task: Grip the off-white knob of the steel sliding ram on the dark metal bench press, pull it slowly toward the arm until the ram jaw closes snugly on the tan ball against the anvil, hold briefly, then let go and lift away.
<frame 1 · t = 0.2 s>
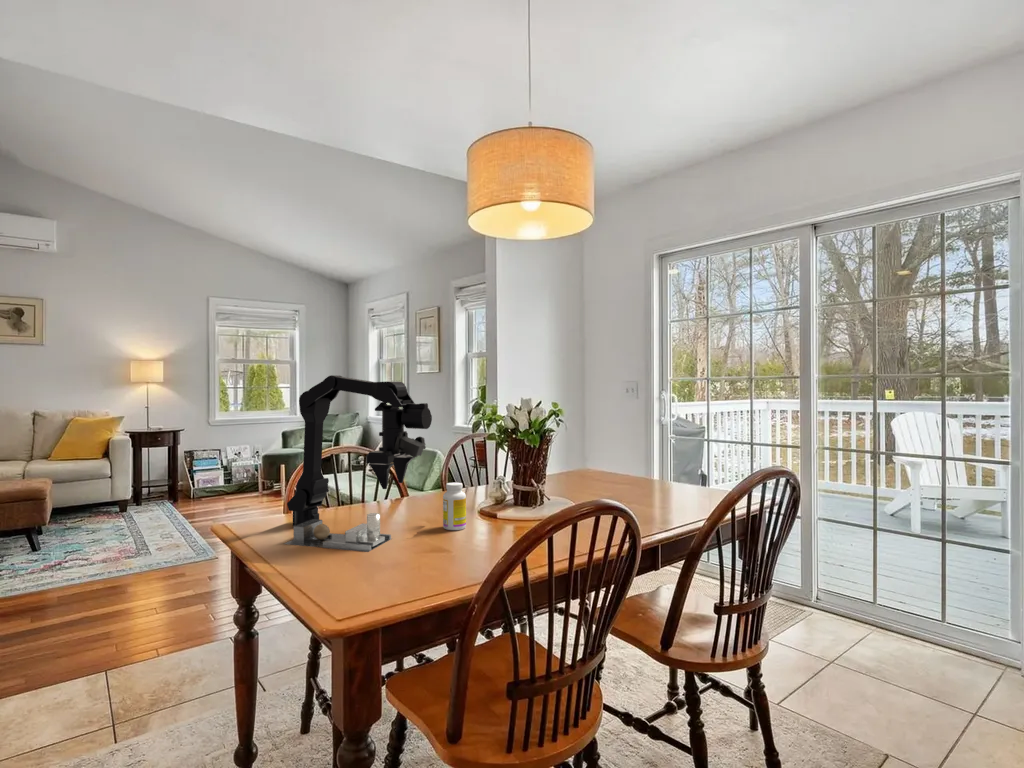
hand: (393, 485, 155), 14 cm above the table, tool pointing down, fingers open, 9 cm apart
supplement bottle: (454, 528, 167), on the table
tan ball: (321, 539, 149), point 1 cm above the table, touching press base
ram: (366, 528, 145), point 5 cm above the table, slide at 0.0 cm
press base: (338, 546, 147), on the table
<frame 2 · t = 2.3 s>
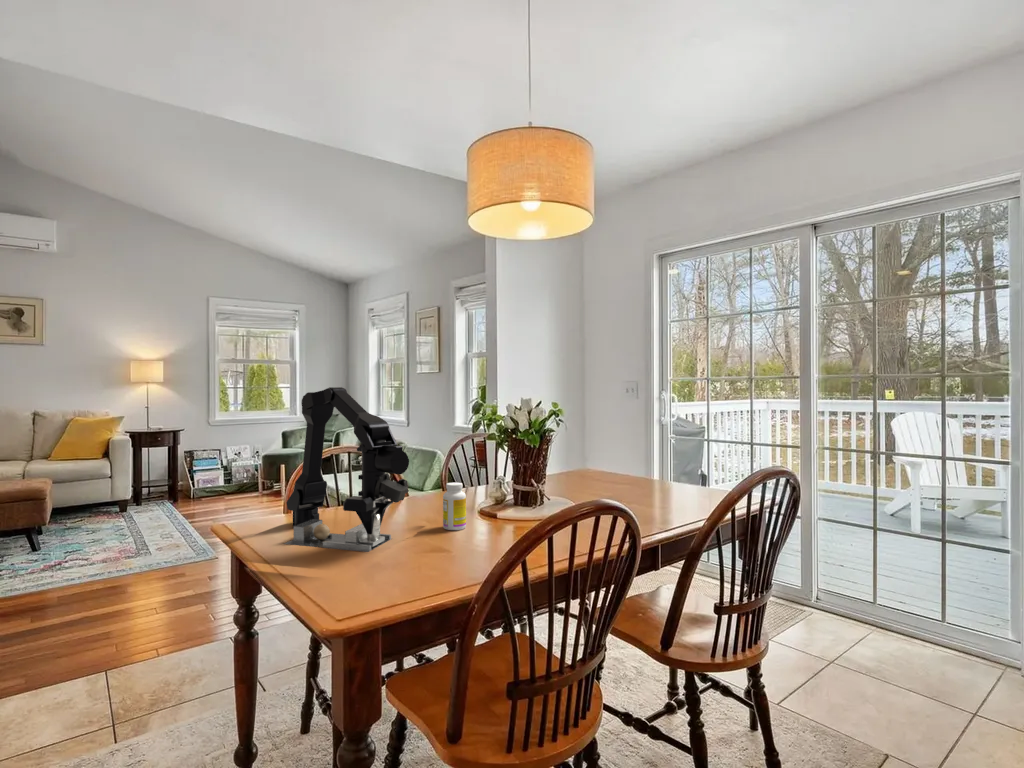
hand: (373, 532, 145), 5 cm above the table, tool pointing down, fingers closed on ram, 3 cm apart
ram: (366, 528, 145), point 5 cm above the table, slide at 0.0 cm, touching gripper
everything else where it was.
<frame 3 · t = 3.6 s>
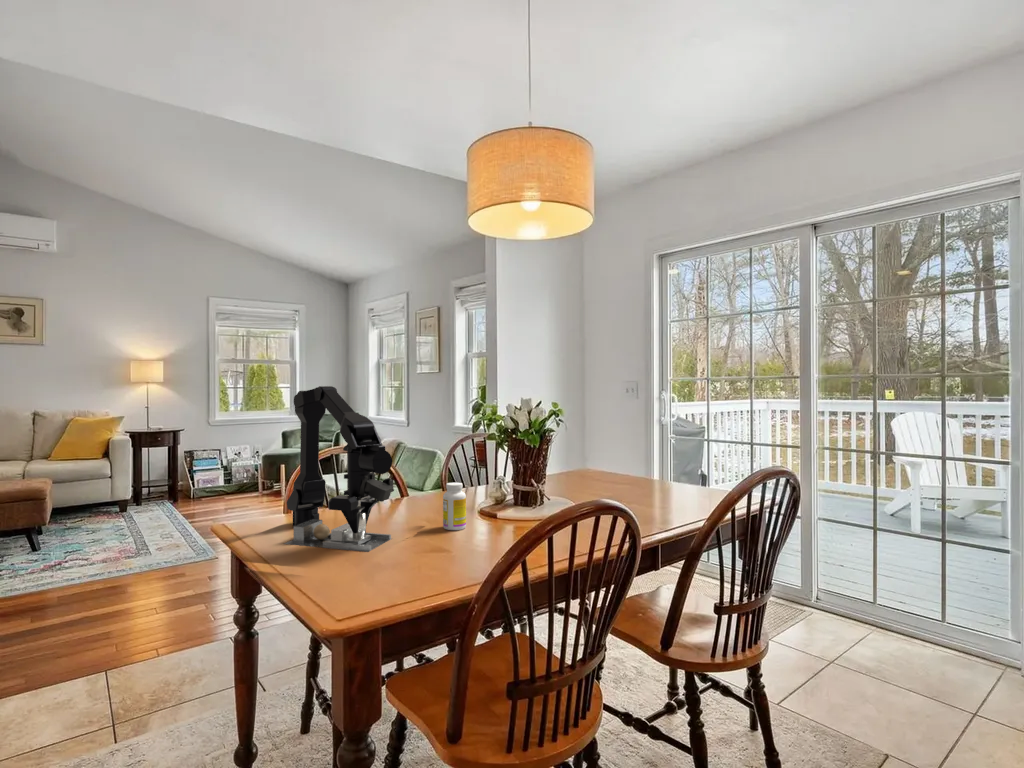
hand: (359, 531, 146), 4 cm above the table, tool pointing down, fingers closed on ram, 3 cm apart
ram: (352, 527, 146), point 5 cm above the table, slide at 4.1 cm, touching gripper
everything else where it was.
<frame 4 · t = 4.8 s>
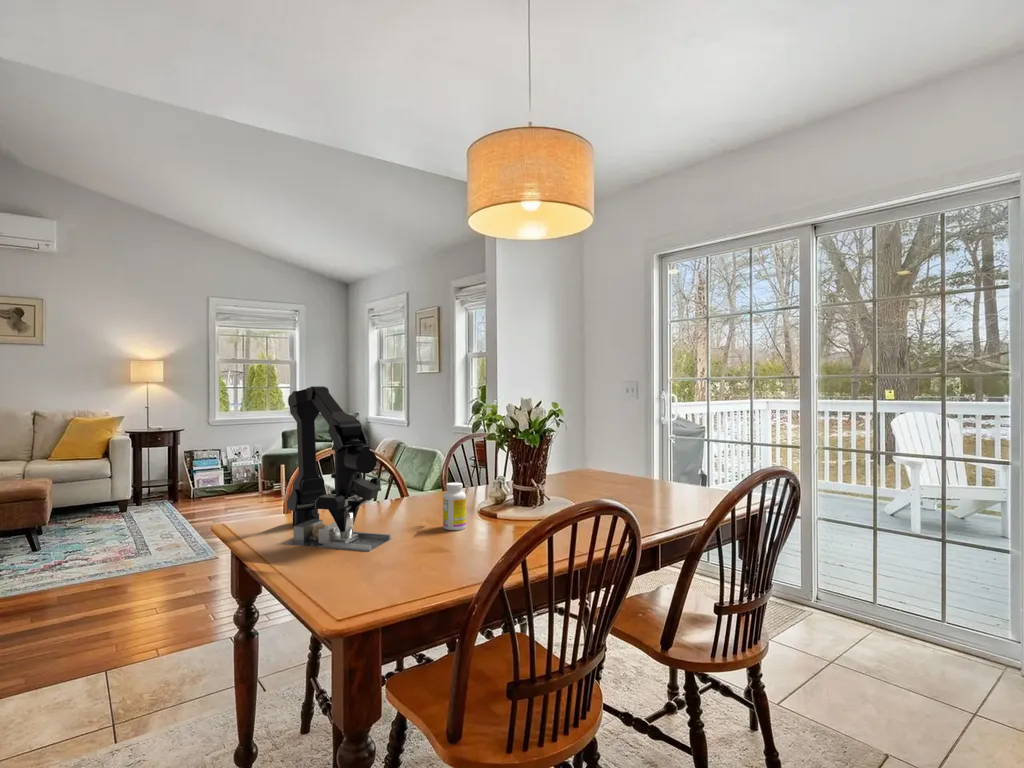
hand: (346, 530, 147), 4 cm above the table, tool pointing down, fingers closed on ram, 3 cm apart
tan ball: (321, 539, 149), point 2 cm above the table, tilted 11°, touching press base
ram: (339, 526, 147), point 5 cm above the table, slide at 7.7 cm, touching gripper
everything else where it was.
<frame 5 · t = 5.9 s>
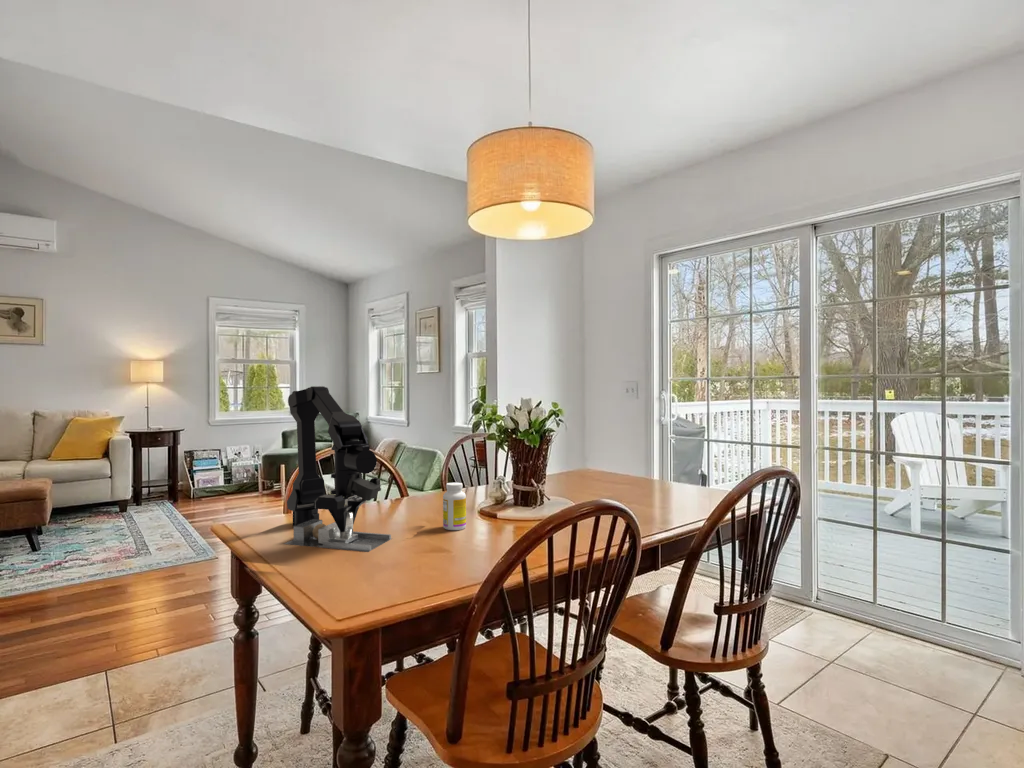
hand: (346, 530, 147), 4 cm above the table, tool pointing down, fingers closed on ram, 3 cm apart
ram: (339, 526, 147), point 5 cm above the table, slide at 7.7 cm, touching gripper
everything else where it was.
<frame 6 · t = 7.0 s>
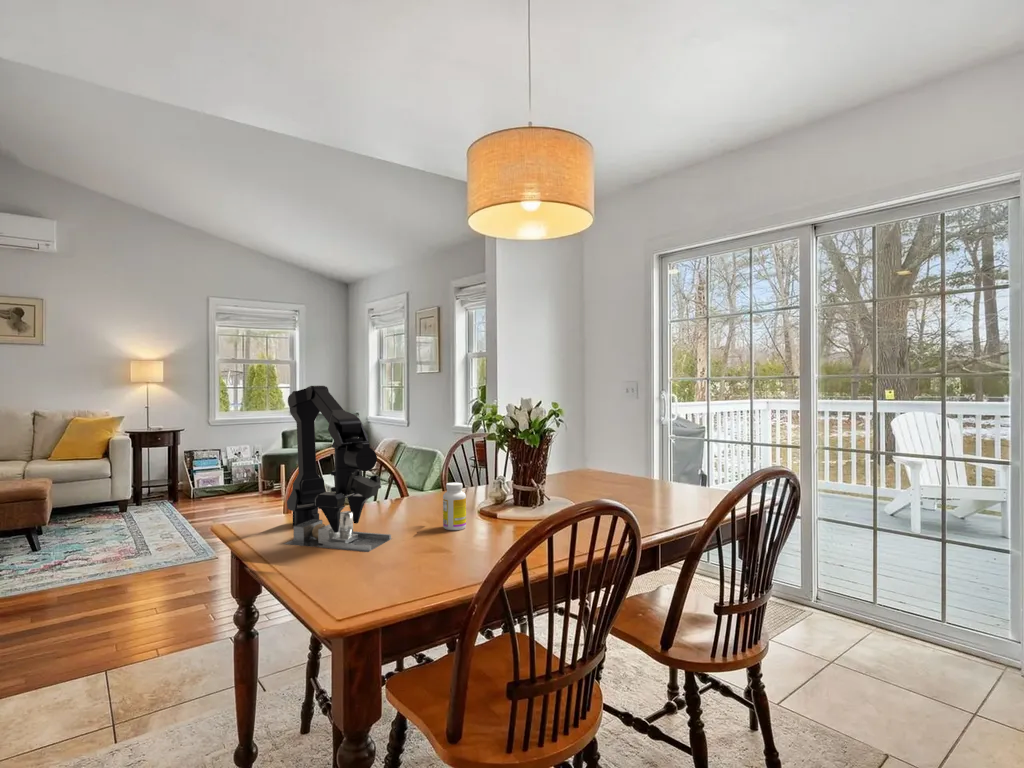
hand: (346, 527, 147), 5 cm above the table, tool pointing down, fingers open, 9 cm apart
ram: (339, 526, 147), point 5 cm above the table, slide at 7.7 cm
everything else where it was.
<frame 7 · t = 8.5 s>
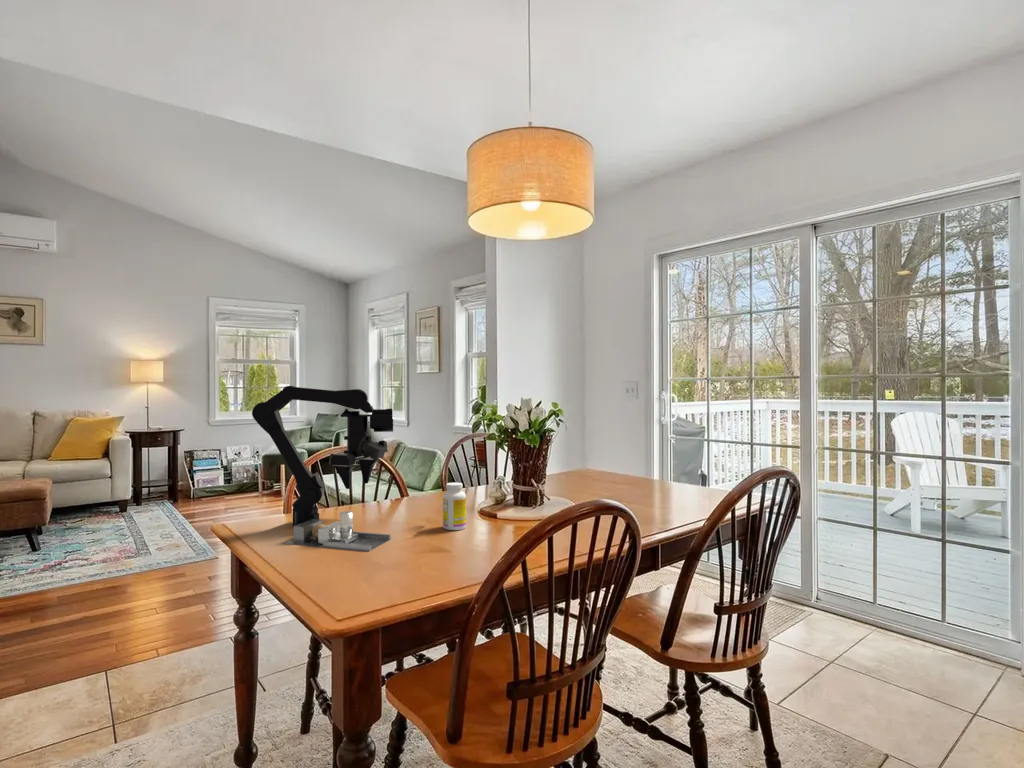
hand: (357, 486, 167), 12 cm above the table, tool pointing down, fingers open, 9 cm apart
nothing on the table moved.
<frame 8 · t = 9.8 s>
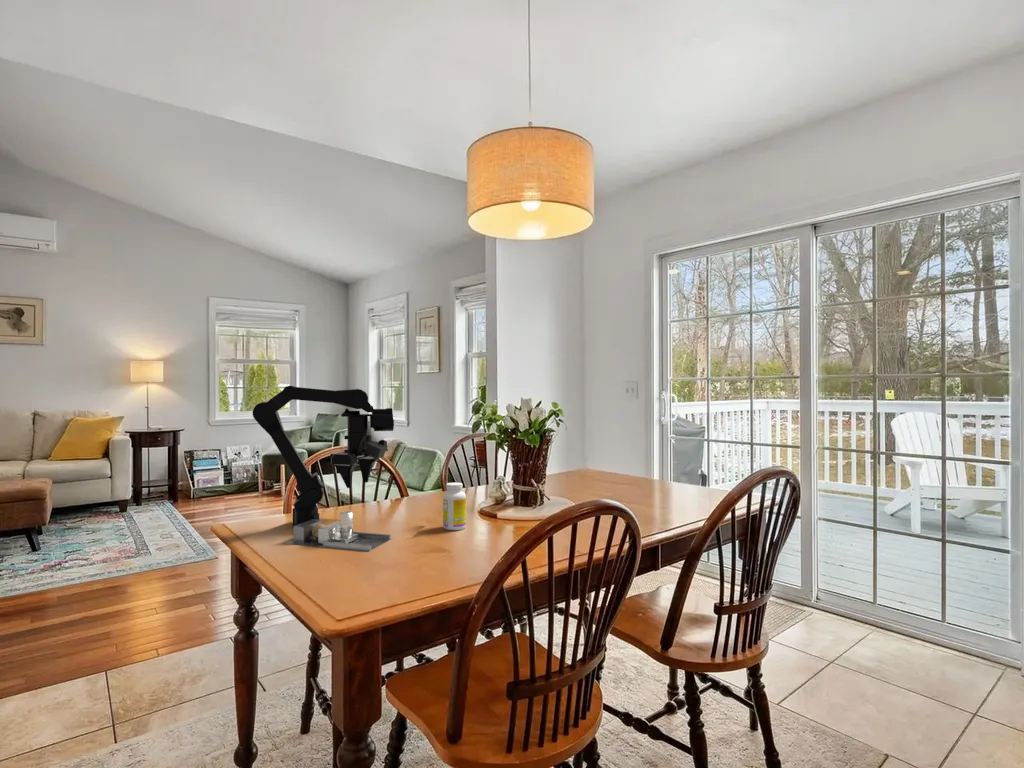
hand: (357, 485, 168), 12 cm above the table, tool pointing down, fingers open, 9 cm apart
nothing on the table moved.
at the end: ram slide at 7.7 cm; tan ball 0.5 cm from the target spot on the press base, point 1.6 cm above the press base's base; the gripper is holding nothing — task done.
